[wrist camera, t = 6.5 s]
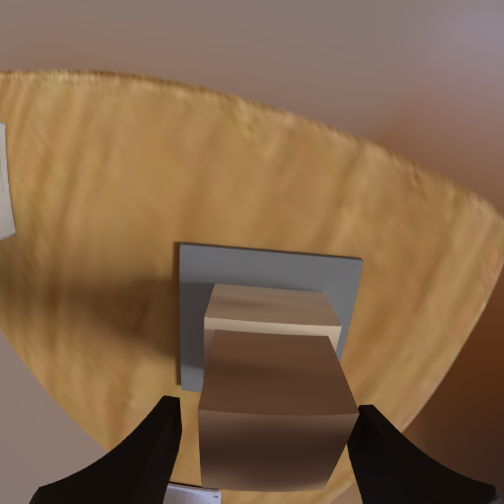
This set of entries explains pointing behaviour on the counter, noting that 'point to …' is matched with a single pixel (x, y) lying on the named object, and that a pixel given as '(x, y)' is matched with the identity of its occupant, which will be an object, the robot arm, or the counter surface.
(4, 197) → the small box
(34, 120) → the counter surface
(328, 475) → the walnut block
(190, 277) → the mat
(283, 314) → the maple block
